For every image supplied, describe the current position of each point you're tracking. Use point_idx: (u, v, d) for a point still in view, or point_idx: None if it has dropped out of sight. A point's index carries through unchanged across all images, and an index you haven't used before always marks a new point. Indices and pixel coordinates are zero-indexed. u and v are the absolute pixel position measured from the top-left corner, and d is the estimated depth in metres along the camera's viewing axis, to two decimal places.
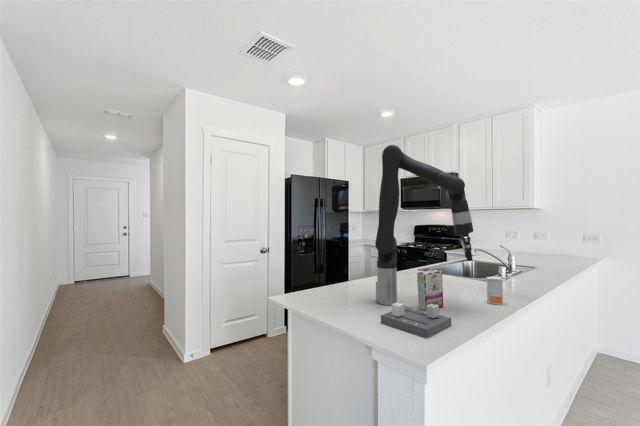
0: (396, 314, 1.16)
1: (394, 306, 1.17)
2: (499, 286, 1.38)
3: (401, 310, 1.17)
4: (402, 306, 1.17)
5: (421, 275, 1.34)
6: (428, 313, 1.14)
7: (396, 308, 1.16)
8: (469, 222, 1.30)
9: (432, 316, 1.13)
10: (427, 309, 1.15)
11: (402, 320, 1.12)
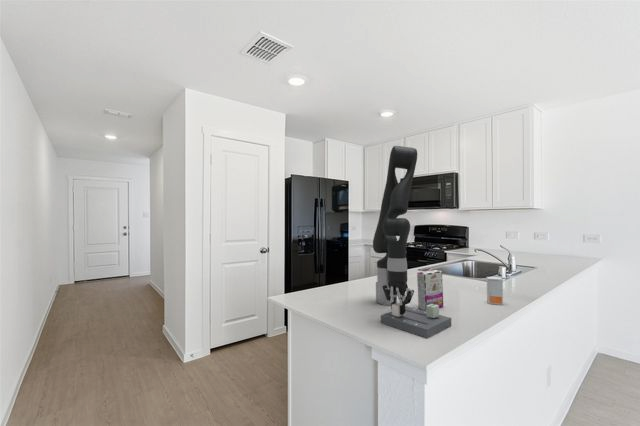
0: (396, 314, 1.16)
1: (394, 306, 1.17)
2: (499, 286, 1.38)
3: None
4: None
5: (421, 275, 1.34)
6: (428, 313, 1.14)
7: (396, 308, 1.16)
8: (387, 269, 1.18)
9: (432, 316, 1.13)
10: (427, 309, 1.15)
11: (402, 320, 1.12)
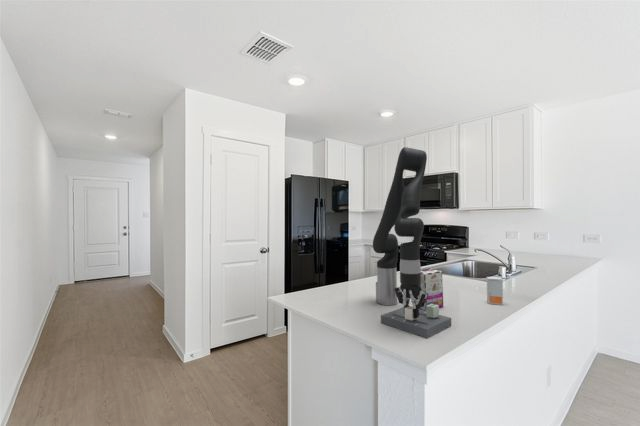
0: (409, 318, 1.11)
1: (407, 310, 1.12)
2: (499, 286, 1.38)
3: None
4: None
5: (421, 275, 1.34)
6: (428, 313, 1.14)
7: (409, 312, 1.11)
8: (400, 271, 1.14)
9: (432, 316, 1.13)
10: (427, 309, 1.15)
11: (402, 320, 1.12)
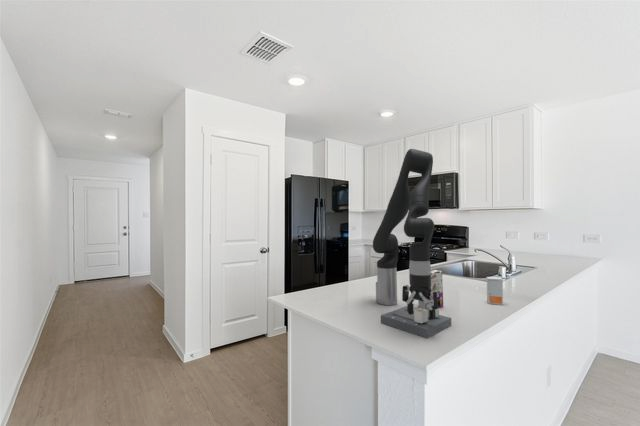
0: (419, 321, 1.08)
1: (417, 312, 1.09)
2: (499, 286, 1.38)
3: (424, 316, 1.09)
4: (425, 312, 1.09)
5: None
6: (428, 313, 1.14)
7: (419, 314, 1.08)
8: (409, 273, 1.10)
9: None
10: (427, 309, 1.15)
11: (402, 320, 1.12)
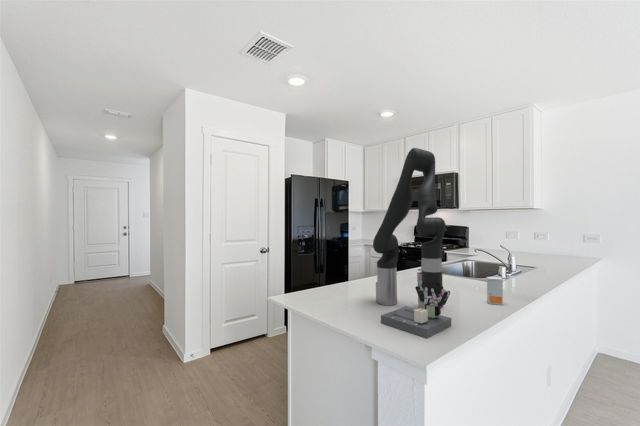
0: (419, 321, 1.08)
1: (417, 312, 1.09)
2: (499, 286, 1.38)
3: (424, 316, 1.09)
4: (425, 312, 1.09)
5: (421, 275, 1.34)
6: (428, 313, 1.14)
7: (419, 314, 1.08)
8: (421, 270, 1.16)
9: (432, 316, 1.13)
10: (427, 309, 1.15)
11: (402, 320, 1.12)
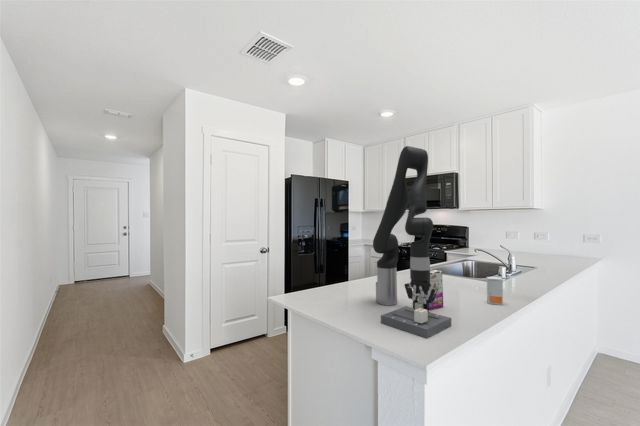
0: (419, 321, 1.08)
1: (417, 312, 1.09)
2: (499, 286, 1.38)
3: (424, 316, 1.09)
4: (425, 312, 1.09)
5: None
6: None
7: (419, 314, 1.08)
8: (410, 268, 1.19)
9: None
10: (416, 306, 1.18)
11: (402, 320, 1.12)
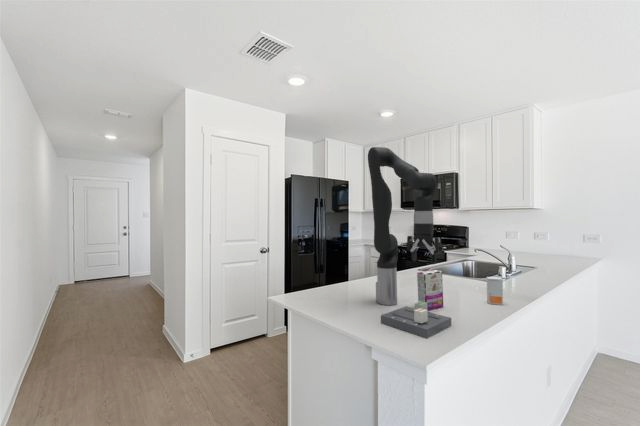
0: (419, 321, 1.08)
1: (417, 312, 1.09)
2: (499, 286, 1.38)
3: (424, 316, 1.09)
4: (425, 312, 1.09)
5: (421, 275, 1.34)
6: None
7: (419, 314, 1.08)
8: (414, 222, 1.22)
9: None
10: (416, 306, 1.18)
11: (402, 320, 1.12)
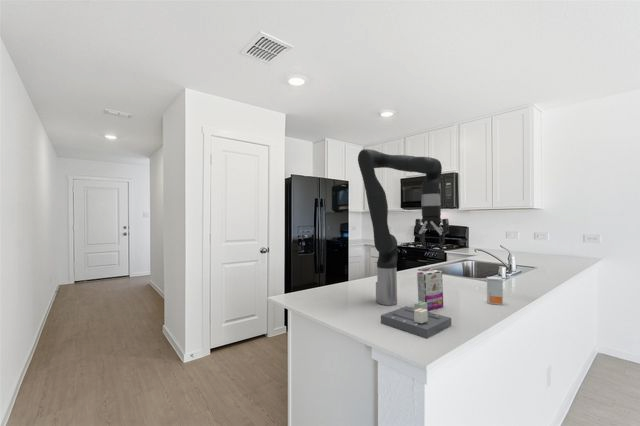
0: (419, 321, 1.08)
1: (417, 312, 1.09)
2: (499, 286, 1.38)
3: (424, 316, 1.09)
4: (425, 312, 1.09)
5: (421, 275, 1.34)
6: None
7: (419, 314, 1.08)
8: None
9: None
10: (416, 306, 1.18)
11: (402, 320, 1.12)
